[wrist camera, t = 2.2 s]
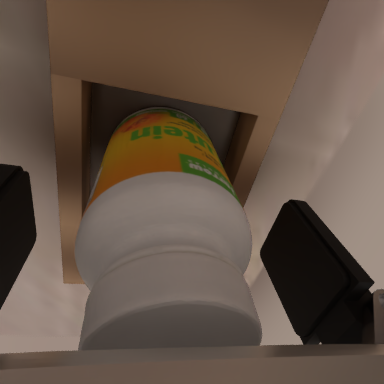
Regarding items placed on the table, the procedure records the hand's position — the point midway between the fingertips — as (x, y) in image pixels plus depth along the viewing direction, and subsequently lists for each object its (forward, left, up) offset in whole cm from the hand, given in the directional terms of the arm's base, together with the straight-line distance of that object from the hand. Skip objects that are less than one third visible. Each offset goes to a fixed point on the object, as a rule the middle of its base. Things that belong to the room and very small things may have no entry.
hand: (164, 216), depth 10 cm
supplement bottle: (0, 0, -5) cm, 5 cm away
